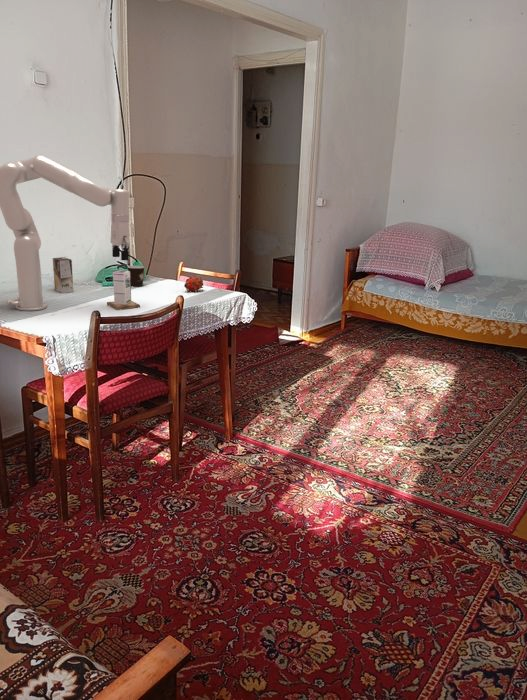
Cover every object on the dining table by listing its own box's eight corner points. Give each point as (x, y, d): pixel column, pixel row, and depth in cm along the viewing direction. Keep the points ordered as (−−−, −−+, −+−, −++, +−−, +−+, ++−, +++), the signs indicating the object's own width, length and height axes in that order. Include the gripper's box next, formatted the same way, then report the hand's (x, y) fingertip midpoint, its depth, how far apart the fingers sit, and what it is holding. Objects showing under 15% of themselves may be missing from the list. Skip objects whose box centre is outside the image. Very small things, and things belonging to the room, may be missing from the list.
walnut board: (116, 309, 250) (116, 307, 250) (107, 304, 259) (106, 302, 258) (139, 307, 256) (139, 304, 256) (129, 302, 265) (129, 299, 264)
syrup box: (126, 305, 254) (125, 272, 250) (113, 304, 255) (112, 271, 251) (131, 302, 259) (130, 270, 255) (119, 301, 260) (118, 269, 256)
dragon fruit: (205, 293, 300) (186, 299, 293) (196, 281, 303) (177, 287, 295) (209, 282, 294) (190, 287, 286) (200, 270, 296) (181, 276, 289)
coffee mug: (139, 283, 309) (139, 265, 306) (147, 286, 302) (147, 267, 299) (120, 285, 302) (119, 266, 299) (127, 288, 295) (127, 269, 292)
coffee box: (74, 292, 282) (72, 259, 277) (61, 293, 278) (59, 260, 273) (66, 288, 288) (64, 256, 284) (54, 290, 284) (51, 257, 279)
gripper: (104, 216, 250) (104, 255, 255) (119, 220, 237) (120, 261, 242) (120, 217, 255) (120, 255, 260) (136, 221, 242) (136, 261, 246)
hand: (120, 258), depth 251 cm, fingers open, 9 cm apart
